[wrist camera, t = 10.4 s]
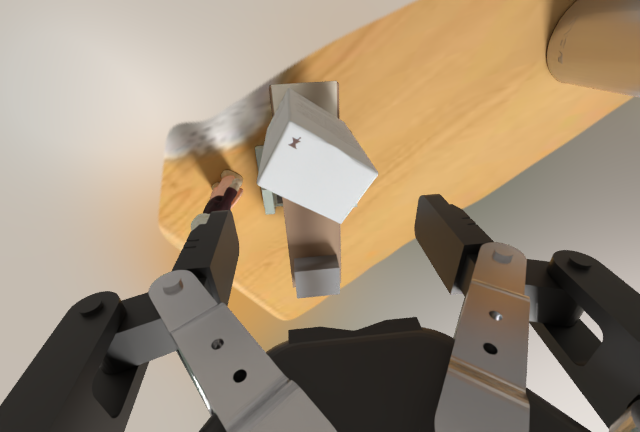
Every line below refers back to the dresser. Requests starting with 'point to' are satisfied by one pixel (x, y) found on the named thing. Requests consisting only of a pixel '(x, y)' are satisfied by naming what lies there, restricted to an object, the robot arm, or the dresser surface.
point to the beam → (311, 213)
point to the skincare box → (314, 159)
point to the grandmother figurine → (221, 196)
